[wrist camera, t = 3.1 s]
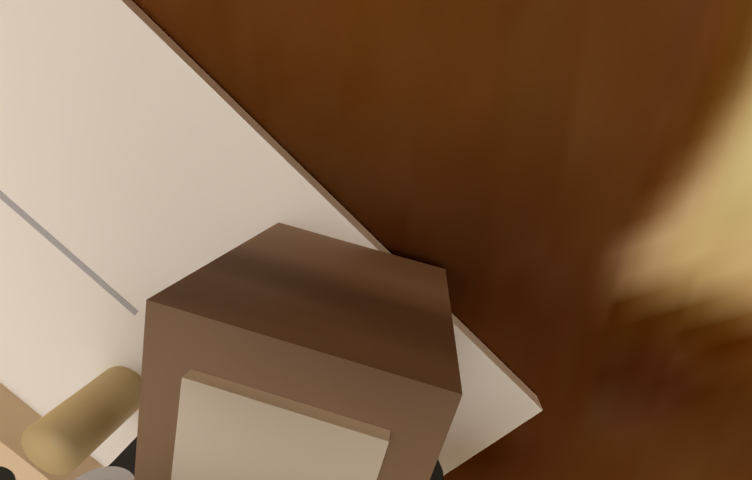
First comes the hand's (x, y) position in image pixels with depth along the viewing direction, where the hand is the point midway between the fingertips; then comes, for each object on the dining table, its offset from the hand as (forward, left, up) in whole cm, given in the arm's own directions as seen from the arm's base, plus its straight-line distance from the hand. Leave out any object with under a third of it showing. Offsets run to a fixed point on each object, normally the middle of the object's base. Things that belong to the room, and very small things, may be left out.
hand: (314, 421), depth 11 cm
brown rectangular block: (0, 0, 0) cm, 0 cm away
